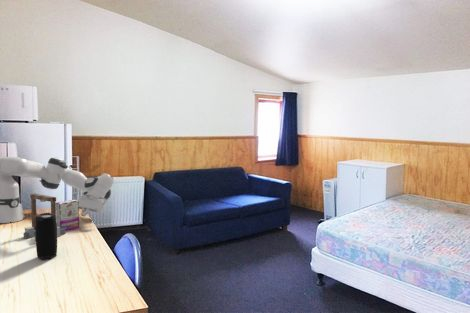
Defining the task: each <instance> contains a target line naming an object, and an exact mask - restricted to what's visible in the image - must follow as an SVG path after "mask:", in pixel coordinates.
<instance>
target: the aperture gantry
mask: <svg viewBox="0 0 470 313" xmlns="http://www.w3.org/2000/svg"><path fill="white" fill-rule="evenodd" d="M29 195H30V196H29V197H30V203H31V205H30V207H31V208H30V210H31V211H30V212H31V227H34V230H35V228H36V216H37V200H39V202H40V203H44V202H48V203H49V202H50V213H51V214H56V203H57V197H56V196H52V195H51V196H50V195H45V194H39V193H30V194H29Z"/></svg>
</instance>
